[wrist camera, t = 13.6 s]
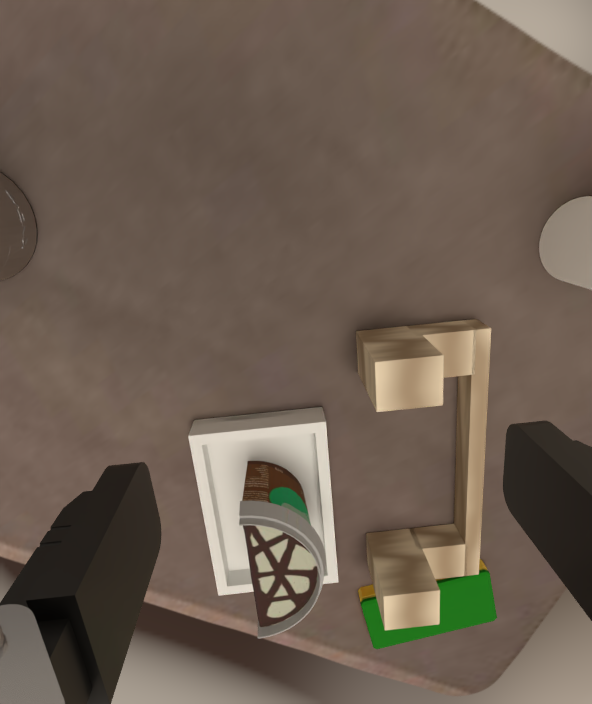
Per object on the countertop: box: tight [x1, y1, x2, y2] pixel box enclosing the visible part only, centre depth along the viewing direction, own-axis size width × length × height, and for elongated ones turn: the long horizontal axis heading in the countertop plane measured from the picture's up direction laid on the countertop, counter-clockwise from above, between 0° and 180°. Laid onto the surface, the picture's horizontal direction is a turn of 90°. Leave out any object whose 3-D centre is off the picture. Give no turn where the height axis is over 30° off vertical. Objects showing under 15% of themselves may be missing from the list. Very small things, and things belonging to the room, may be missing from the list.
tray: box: [188, 407, 338, 595], centre depth 44 cm, size 12×18×3 cm, turn 5°
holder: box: [356, 319, 491, 630], centre depth 41 cm, size 11×26×8 cm, turn 5°
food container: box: [239, 461, 326, 638], centre depth 40 cm, size 12×6×10 cm, turn 5°
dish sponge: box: [358, 559, 497, 649], centre depth 51 cm, size 7×14×2 cm, turn 105°
